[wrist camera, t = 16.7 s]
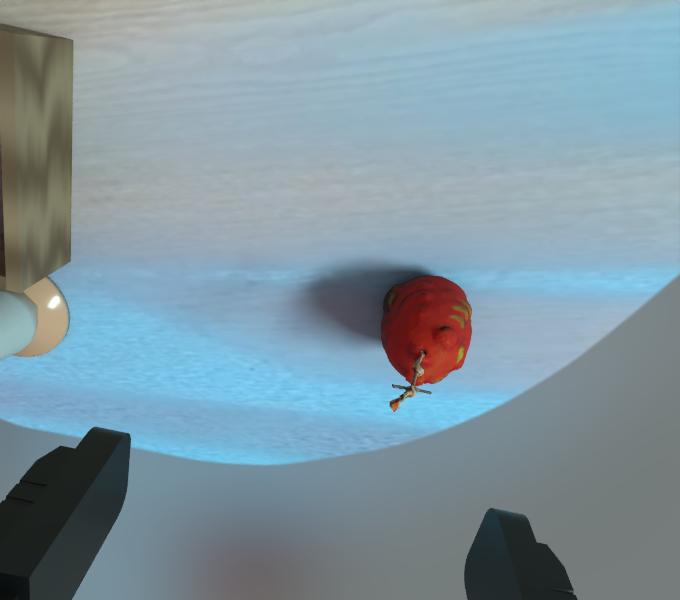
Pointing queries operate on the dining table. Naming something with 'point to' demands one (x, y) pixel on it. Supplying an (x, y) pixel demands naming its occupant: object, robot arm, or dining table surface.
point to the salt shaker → (16, 322)
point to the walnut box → (35, 155)
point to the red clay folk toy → (425, 331)
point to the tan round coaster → (47, 318)
